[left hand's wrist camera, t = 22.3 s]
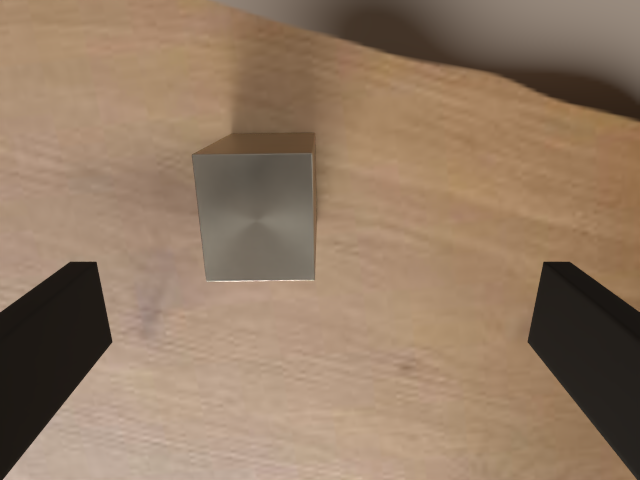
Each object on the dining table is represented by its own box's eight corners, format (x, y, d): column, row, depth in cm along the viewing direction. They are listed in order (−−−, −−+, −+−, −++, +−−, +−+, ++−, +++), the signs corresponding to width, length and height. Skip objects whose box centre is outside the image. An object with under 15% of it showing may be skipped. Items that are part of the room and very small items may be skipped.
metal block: (315, 132, 26) (312, 152, 18) (316, 226, 28) (314, 280, 20) (230, 133, 26) (191, 154, 18) (238, 227, 28) (206, 281, 20)
